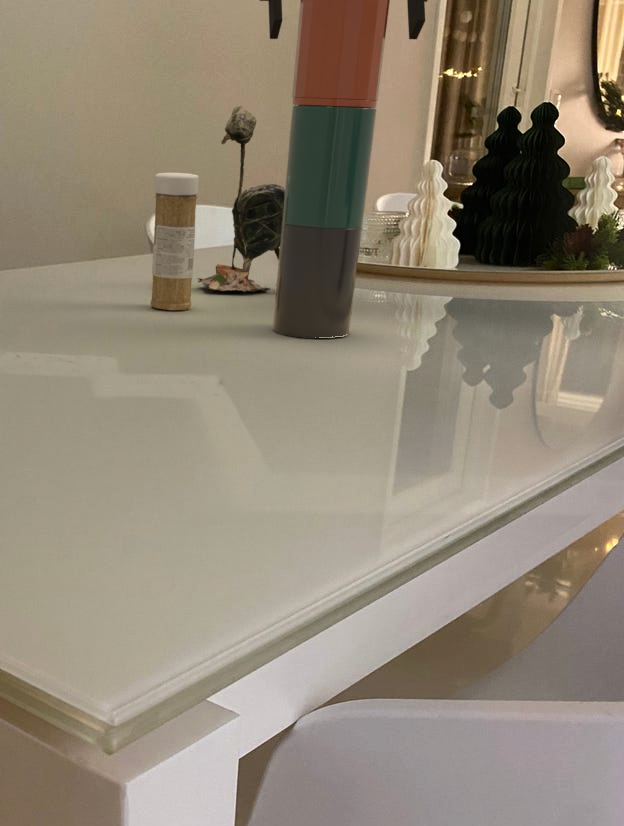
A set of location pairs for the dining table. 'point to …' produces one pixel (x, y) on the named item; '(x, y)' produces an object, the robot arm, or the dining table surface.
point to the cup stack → (322, 219)
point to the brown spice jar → (174, 240)
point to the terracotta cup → (339, 52)
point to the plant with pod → (249, 216)
